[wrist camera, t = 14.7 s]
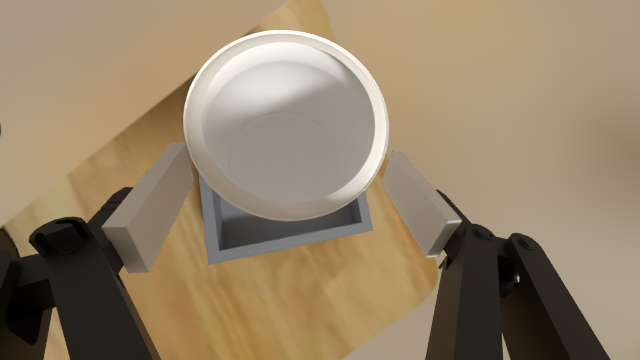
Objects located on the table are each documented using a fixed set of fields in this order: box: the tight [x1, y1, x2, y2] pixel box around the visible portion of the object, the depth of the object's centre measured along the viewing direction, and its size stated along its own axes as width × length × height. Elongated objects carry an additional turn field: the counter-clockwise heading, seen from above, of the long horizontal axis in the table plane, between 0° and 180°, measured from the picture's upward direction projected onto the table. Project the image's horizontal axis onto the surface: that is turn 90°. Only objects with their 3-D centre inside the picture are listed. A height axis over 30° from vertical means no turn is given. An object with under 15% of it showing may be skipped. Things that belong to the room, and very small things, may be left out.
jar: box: [183, 30, 389, 221], centre depth 19 cm, size 11×10×15 cm
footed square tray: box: [198, 172, 373, 265], centre depth 26 cm, size 16×16×6 cm
